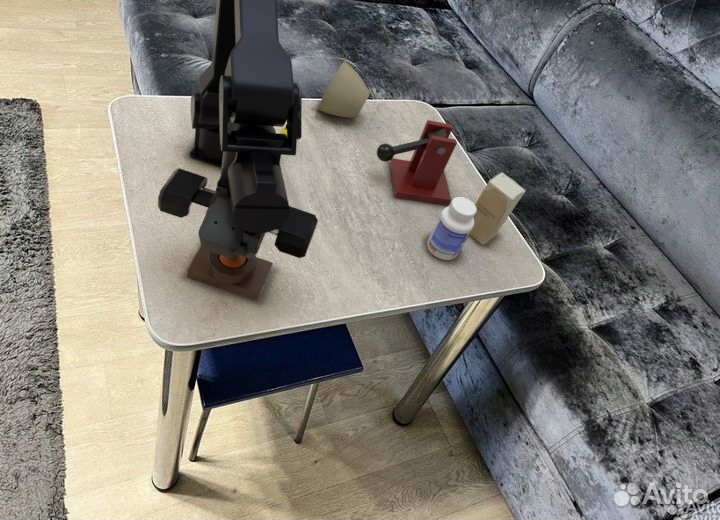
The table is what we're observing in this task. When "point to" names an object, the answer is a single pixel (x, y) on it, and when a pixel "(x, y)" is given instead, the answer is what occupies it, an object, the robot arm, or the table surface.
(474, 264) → the table surface
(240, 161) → the robot arm
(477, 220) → the box
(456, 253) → the pill bottle
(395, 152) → the black lever handle
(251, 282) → the button block
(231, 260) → the button
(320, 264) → the table surface
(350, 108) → the bowl
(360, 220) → the table surface
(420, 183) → the lever bracket
